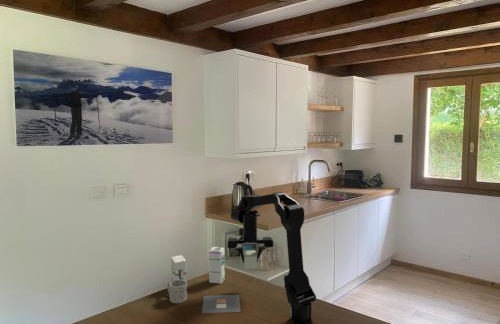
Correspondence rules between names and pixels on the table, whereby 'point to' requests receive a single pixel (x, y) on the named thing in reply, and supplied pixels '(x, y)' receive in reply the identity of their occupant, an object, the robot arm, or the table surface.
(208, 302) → the tile
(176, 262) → the ink box
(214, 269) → the syrup box
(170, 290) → the mug
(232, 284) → the table surface
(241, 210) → the robot arm
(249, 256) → the sage block
